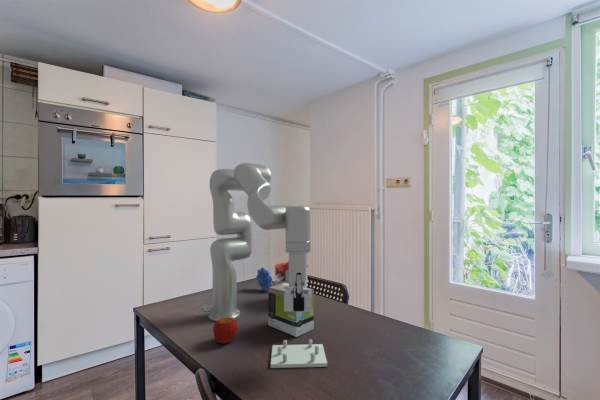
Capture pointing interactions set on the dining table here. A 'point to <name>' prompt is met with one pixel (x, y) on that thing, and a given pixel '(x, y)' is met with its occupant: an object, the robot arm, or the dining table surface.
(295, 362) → the white peg board
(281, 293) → the tea box
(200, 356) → the dining table surface
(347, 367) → the dining table surface
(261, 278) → the grapes
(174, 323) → the dining table surface
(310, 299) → the block
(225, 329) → the apple
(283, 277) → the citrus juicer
